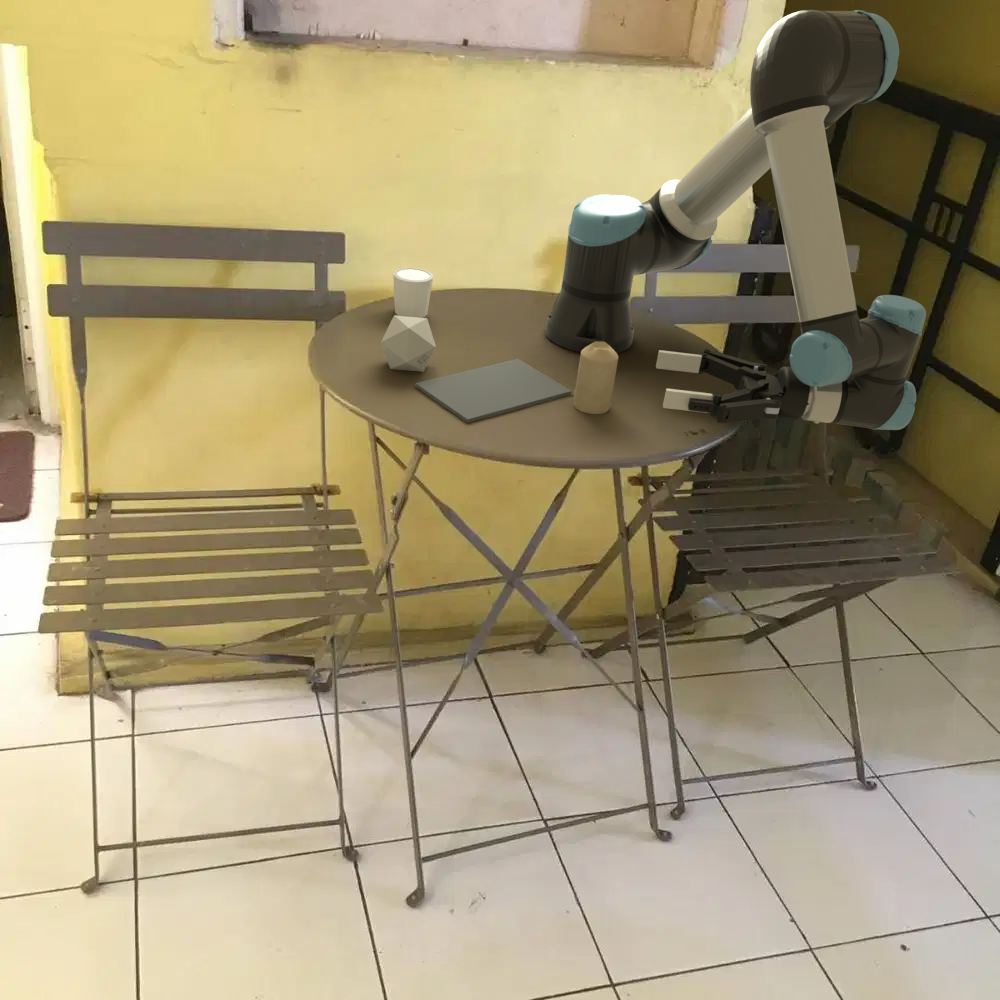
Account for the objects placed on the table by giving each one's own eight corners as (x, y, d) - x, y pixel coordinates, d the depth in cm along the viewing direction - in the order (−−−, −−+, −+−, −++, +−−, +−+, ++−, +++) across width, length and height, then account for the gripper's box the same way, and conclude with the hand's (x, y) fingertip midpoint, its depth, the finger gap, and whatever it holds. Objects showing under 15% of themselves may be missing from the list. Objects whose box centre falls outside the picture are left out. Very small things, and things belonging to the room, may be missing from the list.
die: (412, 388, 154) (449, 336, 152) (365, 353, 152) (403, 301, 151) (414, 383, 162) (449, 334, 160) (369, 351, 160) (405, 301, 159)
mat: (517, 362, 164) (518, 358, 164) (571, 394, 156) (571, 390, 155) (415, 386, 153) (415, 383, 152) (467, 423, 144) (467, 419, 144)
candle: (610, 416, 151) (621, 354, 145) (573, 413, 151) (583, 350, 145) (607, 400, 155) (618, 339, 150) (572, 396, 155) (581, 335, 150)
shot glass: (415, 323, 173) (417, 284, 170) (383, 312, 176) (385, 273, 172) (438, 313, 178) (441, 274, 175) (407, 302, 181) (409, 264, 177)
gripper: (814, 458, 141) (663, 440, 141) (782, 381, 162) (650, 366, 162) (829, 409, 137) (673, 391, 137) (794, 338, 159) (659, 322, 158)
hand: (660, 377), depth 150 cm, fingers open, 13 cm apart
